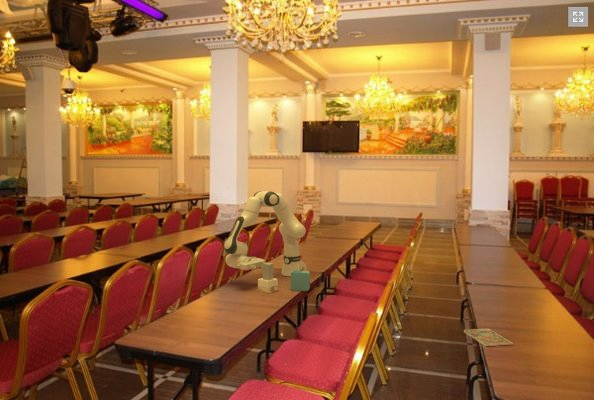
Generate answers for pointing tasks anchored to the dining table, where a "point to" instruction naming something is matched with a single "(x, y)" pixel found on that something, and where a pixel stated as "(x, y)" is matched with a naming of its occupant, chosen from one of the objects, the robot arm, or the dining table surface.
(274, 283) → the tower block upper
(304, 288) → the data package
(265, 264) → the grey column
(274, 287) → the tower block lower
